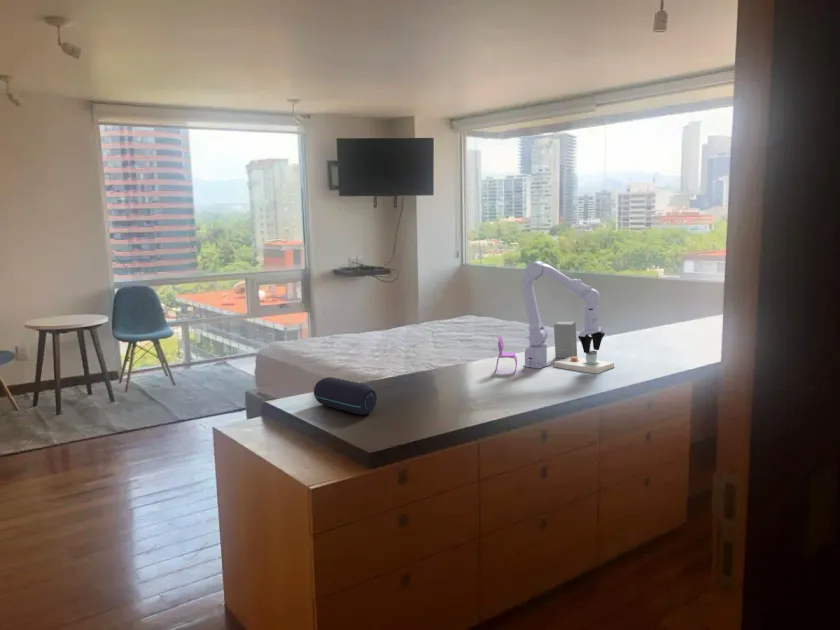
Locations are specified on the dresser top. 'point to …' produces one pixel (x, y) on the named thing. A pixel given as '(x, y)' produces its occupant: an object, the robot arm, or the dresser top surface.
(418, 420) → the dresser top surface
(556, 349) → the skincare box
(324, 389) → the portable speaker
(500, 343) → the toy chair
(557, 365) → the housing
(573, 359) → the tan round piece
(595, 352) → the cup
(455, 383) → the dresser top surface
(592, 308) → the robot arm
